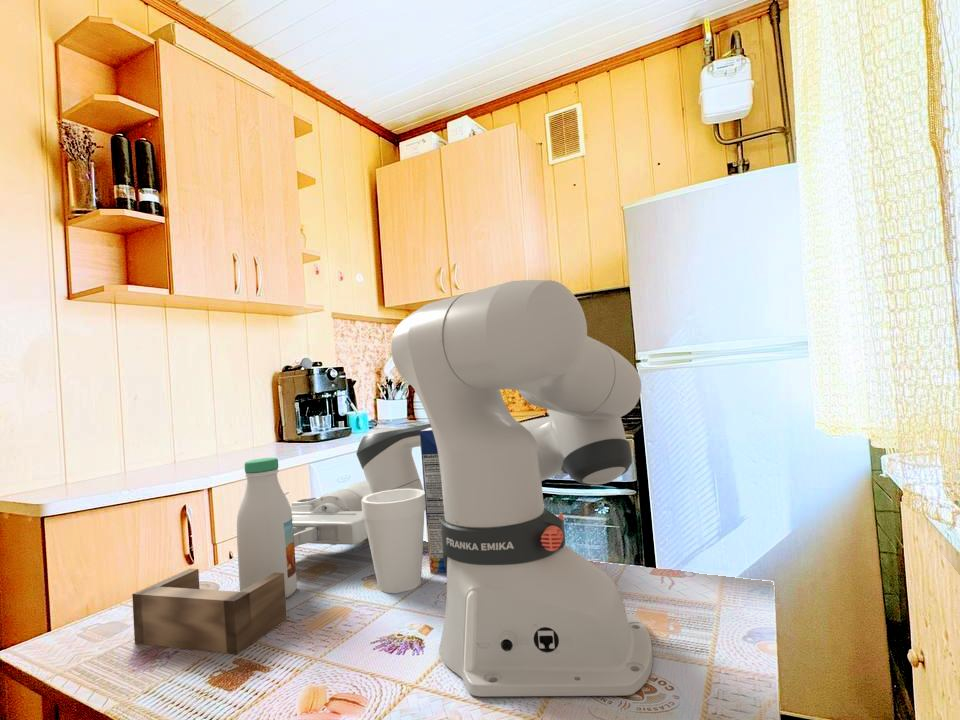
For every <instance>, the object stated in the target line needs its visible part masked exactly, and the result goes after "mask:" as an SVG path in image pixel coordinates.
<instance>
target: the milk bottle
mask: <svg viewBox="0 0 960 720" xmlns="http://www.w3.org/2000/svg"><path fill="white" fill-rule="evenodd" d="M244 472H245V475H244V476H245V478H246V487H245V491H244V494H243V498H242V499H241V503H240V505H239V508H238V510H237V516H236V542H237V544H236V546H237V564H238V565H237V566H238V567H237V568H238V582H239V592H240V591H242V590H244V589H246V588H247V587H249V586H251V585H253V584H255V583H256V582H258V581H260V580H262V579H264V578H266V577H267V576H269V575H271V574H273V573H284V582H285V598H286V599H287V598H289V597H291V596H292V595H293V594H294V593H295V592H296V590H297V588H298V587H297V586H298V584H297V582H298V580H297V563H296V547H295V546H294V532H293V520H292V512H291V508H290V507H291V506H290V502H289V500H288V498H287V496H286V494H285V492H284V491H283V489H282V487H281V484H280V482H279V479H278V473H279V460H278V458H277V457H264V458H257V459H251V460H247V461H245V462H244Z"/></svg>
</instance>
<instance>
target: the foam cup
mask: <svg viewBox="0 0 960 720" xmlns="http://www.w3.org/2000/svg"><path fill="white" fill-rule="evenodd" d="M423 490H424V489H423ZM423 490H420V489H394V490H387V491H381V492H377V493H373V494H370V495H368V496H365V497H363V499H362V500H361V503H362V517H364V520H365V525H366V530H367V535H368V538H367V539H368V544H369V549H370V552H371V553H370V554H371V559H372V563H373V568H374V575H375V578H376V583H377V585H378V587H377V588H378V590H379V591H380V592H383V593H388V594H394V593H396V594H399V593H403V592H409V591H411V590H413V589H415V588H417V587H418V586H420V585H421V584H422V575H423V574H422V570H423V568H422V567H423V549H424V531H425V529H424V528H425V527H424V526H425V512H426V500H425V491H423Z"/></svg>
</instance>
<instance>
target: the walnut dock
mask: <svg viewBox="0 0 960 720" xmlns="http://www.w3.org/2000/svg"><path fill="white" fill-rule="evenodd" d="M199 570H200V569H199V568H188V569H186V570H184V571H181V572H180V573H177V574H174V575H173V576H170V577H167V578H165V579H163V580H160V581H158V582H156V583H154V584H152V585H150V586H148V587H145V588H143V589H140V590H138V591H136V592H134V593H132V595H131V597H132V611H133V614H132V616H133V617H132V619H133V634H134V637H133V639H134V644H139V645H140V644H141V645H152V646H157V647H168V648H176V649H185V650H192V651H193V650H194V651H203V652H211V651H212V652H213V653H220V654H231V655H239V654H240V653H241V652H243V651H244V650H246V649H247V648H249V647H250V646H252V645H253V644H255V642H257V641H258V640H260V639H261V638H263V637H264V636H265V635H267V634H268V633H270V632H271V631H273V630H274V629H276V628H277V627H279V626H280V625H281V624H282V622H283V623H285V622H286V621H287V619H288V617H287V602H286V601H287V600H286V599H287V598H285V582H284V573H273V574H271V575H269V576H267V577H266V578H264V579H262V580H260V581H258V582H256V583H255V584H253V585H251V586H249V587H247V588H246V589H244V590H242V591H240V590H239V591H235V590H234V591H232V590H216V589H204V588H201V589H200V573H199V572H200V571H199ZM285 620H286V621H285ZM279 624H280V625H279Z"/></svg>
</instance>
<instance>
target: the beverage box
mask: <svg viewBox="0 0 960 720" xmlns="http://www.w3.org/2000/svg"><path fill="white" fill-rule="evenodd" d="M420 441H421V446H420V450H421V451H420V452H421V465H422V480H423V490H424V491H425V500H426V510H425V517H426V519H425V520H426V530H427V531H426V533H427V544H428V558H429V559H428V560H429V570H430V572H429V573H430V574H447V568H446V567H445V565H444V558H443V552H442V542H441V533H442V531H441V519H442V517H443V516H444V505H443V494H442V483H441V473H440V464H439V456H438V450H437V446H436V442H435V438H434V434H433V431H432V428H428V429H425V430H422V431H420Z"/></svg>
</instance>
